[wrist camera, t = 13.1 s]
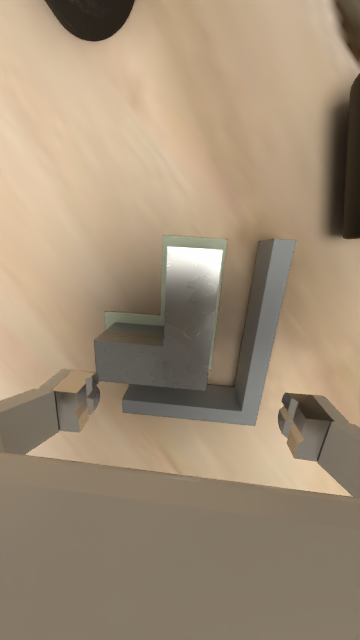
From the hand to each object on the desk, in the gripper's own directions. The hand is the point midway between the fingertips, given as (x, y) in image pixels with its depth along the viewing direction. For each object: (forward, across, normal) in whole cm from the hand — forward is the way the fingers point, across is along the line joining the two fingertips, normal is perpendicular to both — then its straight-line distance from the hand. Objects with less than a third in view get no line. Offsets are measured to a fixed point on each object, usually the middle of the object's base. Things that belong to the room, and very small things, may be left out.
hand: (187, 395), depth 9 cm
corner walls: (+14, 0, +1) cm, 14 cm away
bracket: (+13, +3, 0) cm, 14 cm away
